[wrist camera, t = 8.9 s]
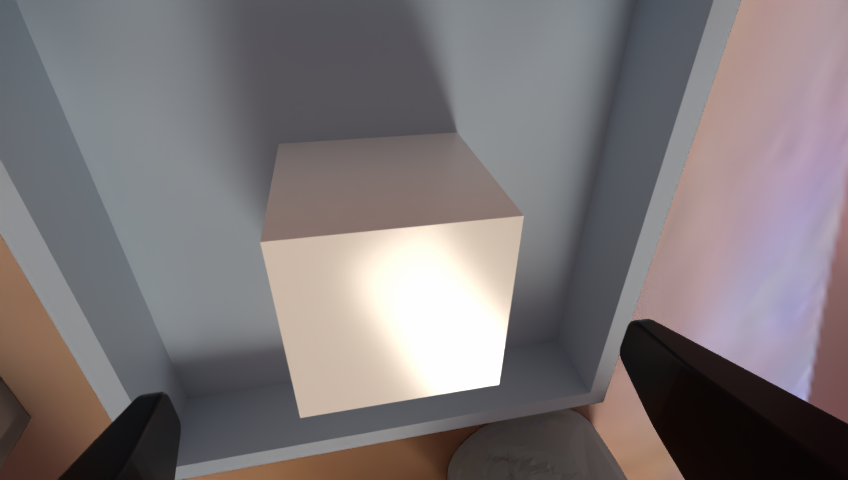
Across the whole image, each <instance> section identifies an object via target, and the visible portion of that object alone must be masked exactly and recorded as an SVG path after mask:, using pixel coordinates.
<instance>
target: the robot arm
mask: <svg viewBox="0 0 848 480" xmlns="http://www.w3.org/2000/svg"><path fill="white" fill-rule="evenodd" d="M620 357H621V360H622V362H623V364H624V366H625V369H626V371H627V373H628V375H629V377H630V379H631V381H632V383H633V385H634V388H635V390H636V392H637V394H638V396H639V398H640V400H641V402H642V404H643V407H644V409H645V411H646V413H647V415H648V417H649V419H650V421H651V423H652V425H653V427H654V428H655V430H656V432H657V434H658V435H659V437H660V439H661V441H662V442H663V444H664V446H665V447H666V449H667V451H668V452H669V454H670V456H671V457H672V459H673V461H674V462H675V464H676V466H677V467H678V469H679V471H680V472H681V474H682V476H683V477H684V479H685V480H848V424H847V423H845V422H844V421H842V420H840V419H838V418H836V417H834V416H832V415H830V414H828V413H827V412H825V411H823V410H821V409H819V408H817V407H815V406H814V405H812V404H810V403H808V402H806V401H804V400H802V399H800V398H798V397H797V396H795V395H793V394H791V393H789V392H787V391H785V390H783V389H782V388H780V387H778V386H776V385H774V384H772V383H770V382H768V381H766V380H765V379H763V378H761V377H759V376H757V375H755V374H753V373H751V372H750V371H748V370H746V369H744V368H742V367H740V366H738V365H736V364H734V363H733V362H731V361H729V360H727V359H725V358H723V357H721V356H719V355H718V354H716V353H714V352H712V351H710V350H708V349H706V348H704V347H703V346H701V345H699V344H697V343H695V342H693V341H691V340H689V339H687V338H686V337H684V336H682V335H680V334H678V333H676V332H674V331H672V330H671V329H669V328H667V327H665V326H663V325H661V324H659V323H657V322H655V321H653V320H651V319H642V320H635V321H631V322H630V323H629V324H628V326H627V329H626V332H625V335H624V338H623V340H622V343H621V346H620ZM180 436H181V423H180V419H179V417H178V414H177V412H176V410H175V408H174V406H173V404H172V402H171V399H170V397H169V395H168V394H167V393H166V392H162V391H160V392H154V393H147V394H142V395H139V396H138V397H137V398H135V399H134V400H133V401H132V402H131V403H130V404H129V405H128V406H127V408H126V409H125V410H124V411H123V412H122V413H121V414H120V415H119V416H118V417H117V418H116V419H115V420H114V421H113V422H112V423H111V424H110V425H109V426H108V427H107V428H106V429H105V430H104V432H103V433H102V434H101V435H100V436H99V437H98V438H97V439H96V440H95V441H94V442H93V443H92V444H91V445H90V446H89V447H88V448H87V449H86V450H85V451H84V452H83V453H82V455H81V456H80V457H79V458H78V459H77V460H76V461H75V462H74V463H73V464H72V465H71V466H70V467H69V468H68V469H67V470H66V471H65V472H64V473H63V474H62V475H61V476H60V477H59V479H58V480H175V474H176V467H177V459H178V451H179V444H180Z"/></svg>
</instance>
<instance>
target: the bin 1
mask: <svg viewBox="0 0 848 480" xmlns="http://www.w3.org/2000/svg"><path fill="white" fill-rule="evenodd" d="M30 420H31V418H30V417H29V415H28V414H27V412H26V411H25V410H24V408H23V407H22V406H21V404H20V403H19V402H18V400H17V399H16V398H15V396H14V395H13V394H12V392H11V391H10V390H9V388H8V387H7V386H6V384H5V383H4V382H3V380H2V379H1V378H0V469H1V467H2V465H3V464H4V462H5V460H6V459H7V457H8V456H9V454H10V452H11V451H12V449H13V447H14V446H15V444H16V442H17V441H18V439H19V438H20V436H21V434H22V433H23V431H24V429H25V428H26V426H27V424H28V423H29V421H30Z"/></svg>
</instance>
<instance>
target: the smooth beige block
mask: <svg viewBox="0 0 848 480" xmlns="http://www.w3.org/2000/svg"><path fill="white" fill-rule="evenodd" d="M523 219H524V215H523V214H522V213H521V211H520V210H519V209H518V208H517V206H516V205H515V204H514V203H513V201H512V200H511V199H510V198H509V196H508V195H507V194H506V193H505V191H504V190H503V189H502V188H501V186H500V185H499V184H498V183H497V181H496V180H495V179H494V178H493V176H492V175H491V174H490V173H489V171H488V170H487V169H486V168H485V166H484V165H483V164H482V163H481V161H480V160H479V159H478V158H477V156H476V155H475V154H474V153H473V151H472V150H471V149H470V148H469V146H468V145H467V144H466V143H465V141H464V140H463V139H462V138H461V136H460V135H459V134H458V133H457V132H456V133H440V134H424V135H409V136H393V137H377V138H361V139H345V140H330V141H314V142H298V143H282V144H279V145H278V151H277V156H276V161H275V166H274V172H273V177H272V182H271V188H270V193H269V198H268V203H267V209H266V214H265V219H264V225H263V230H262V235H261V240H260V244H261V248H262V252H263V257H264V261H265V266H266V270H267V274H268V279H269V283H270V287H271V292H272V296H273V301H274V305H275V309H276V314H277V318H278V323H279V327H280V331H281V336H282V340H283V345H284V349H285V353H286V358H287V362H288V367H289V371H290V375H291V380H292V384H293V389H294V393H295V397H296V402H297V406H298V410H299V415H300V418H304V417H310V416H315V415H321V414H327V413H333V412H339V411H345V410H351V409H357V408H363V407H369V406H375V405H381V404H387V403H393V402H399V401H405V400H411V399H417V398H423V397H428V396H434V395H440V394H446V393H452V392H458V391H464V390H470V389H476V388H482V387H488V386H494V385H499V383H500V376H501V369H502V362H503V356H504V349H505V342H506V335H507V328H508V321H509V315H510V308H511V301H512V294H513V287H514V280H515V274H516V267H517V260H518V253H519V246H520V240H521V233H522V226H523Z"/></svg>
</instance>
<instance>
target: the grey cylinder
mask: <svg viewBox="0 0 848 480" xmlns="http://www.w3.org/2000/svg"><path fill="white" fill-rule="evenodd" d="M448 480H627V478H626V476H625V475H624V473H623V471H622V470H621V468H620V466H619V464H618V463H617V461H616V459H615V458H614V456H613V455H612V453H611V452H610V450H609V449H608V447H607V446H606V444H605V443H604V441H603V440H602V438H601V437H600V435H599V434H598V432H597V431H596V429H595V428H594V426H593V425H592V424H591V423H590V422H589V421H588V420H587V419H586V418H585V417H584V416H582V415H581V414H580V413H578V412H576V411H573V410H570V409H562V410H556V411H551V412H546V413H540V414H535V415H529V416H524V417H518V418H513V419H507V420H502V421H497V422H491V423H489V424H487V425H485V426H484V427H482V428H481V429H479V430H478V431H476V432H475V433H473V434H472V435H471V436H470V437H468V438H467V439H466V440H465V441H464V442H463V443H462V444H461V445H460V446H459V448H458V449H457V450H456V452H455V453H454V454H453V456H452V459H451V461H450V463H449V466H448Z"/></svg>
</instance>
